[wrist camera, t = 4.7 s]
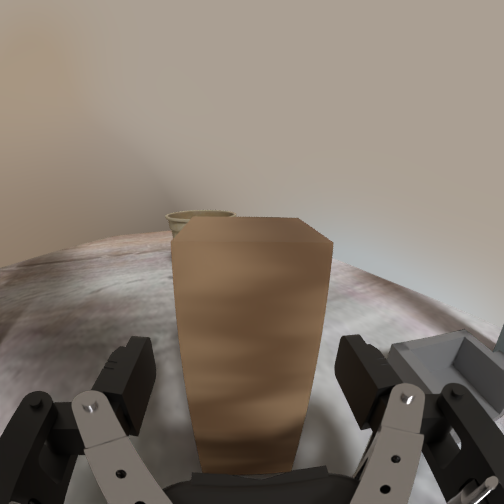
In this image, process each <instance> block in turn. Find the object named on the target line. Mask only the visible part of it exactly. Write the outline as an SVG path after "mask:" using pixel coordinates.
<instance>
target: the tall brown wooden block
mask: <svg viewBox="0 0 504 504" xmlns="http://www.w3.org/2000/svg"><path fill="white" fill-rule="evenodd" d="M332 253H333V242H332V241H330V240H329V239H328V238H326V237H324V236H323V235H322V234H320V233H319V232H318V231H316V230H315V229H313V228H312V227H310V226H309V225H308V224H306V223H304V222H303V221H302V220H300V219H299V218H280V217H192V218H191V219H190V220H189V222H188V223H187V224H186V225H185V226H184V227H183V228H182V229H181V231H180V232H179V233H178V234H177V235H176V236H175V237H174V238H173V240H172V241H171V255H172V271H173V285H174V297H175V308H176V318H177V328H178V336H179V345H180V353H181V360H182V367H183V374H184V381H185V387H186V394H187V399H188V405H189V411H190V416H191V422H192V427H193V432H194V437H195V442H196V446H197V451H198V455H199V460H200V464H201V468H202V473H210V474H228V475H253V474H270V473H282V472H290V471H291V469H292V466H293V462H294V459H295V455H296V452H297V448H298V444H299V440H300V436H301V432H302V428H303V424H304V420H305V416H306V412H307V407H308V403H309V398H310V394H311V389H312V384H313V379H314V374H315V369H316V364H317V359H318V353H319V348H320V342H321V336H322V330H323V323H324V317H325V310H326V303H327V296H328V288H329V280H330V272H331V263H332Z"/></svg>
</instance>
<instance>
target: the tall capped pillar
mask: <svg viewBox="0 0 504 504" xmlns="http://www.w3.org/2000/svg"><path fill="white" fill-rule="evenodd" d="M387 361H388V363H389V364H390V365H391V367H392V368H393V369H394V371H395V372H396V373H397V375H398V376H399V377H400V379H401V380H402V381H403V383H409V384H413V385H415V386H417V387H419V388H420V389H421V390H422V391H423V392H424V394H440V393H441V391H442V389H443V387H444V386H445V385H446V384H449V383H459V384H462V385H464V386H465V387H466V388H467V389H468V390H469V391H470V392H471V393H472V394H473V396H474V397H475V398H476V399H477V401H478V402H479V403H480V404H481V406H482V407H483V408H484V409H485V411H486V412H487V413H488V415H489V416H490V417H491V419H492V420H493V421H496V420H497V419H499V418H500V417H502V416H503V415H504V325H503V328H502V331H501V333H500V336H499V338H498V341H497V343H496V346H495V348H494V350H493V352H492V351H491V350H490V349H489V348H487V347H486V346H485V345H484V344H483V343H481V342H480V341H479V340H478V339H477V338H475V337H474V336H473V335H472V334H470V333H469V332H468V331H467V330H465V329H463V330H459V331H455V332H450V333H446V334H442V335H437V336H432V337H428V338H423V339H417V340H412V341H407V342H401V343H395V344H392V345H391V348H390V352H389V355H388V358H387ZM450 434H451V436H452V437H453V439H454V440H455V442H456V444H457V443H459V442H461V440H460V439H459V437H458V435H457V434H456V432H455V431H454V429H452V430H451V432H450Z"/></svg>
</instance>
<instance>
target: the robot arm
mask: <svg viewBox="0 0 504 504" xmlns="http://www.w3.org/2000/svg"><path fill="white" fill-rule="evenodd" d="M335 376H336V379H337V381H338V383H339V385H340V387H341V389H342V391H343V393H344V395H345V398H346V400H347V402H348V404H349V406H350V408H351V410H352V412H353V414H354V417H355V419H356V421H357V423H358V425H359V427H360V430H364V429H368V428H371V429H372V431H373V432H372V434H371V436H370V438H369V441H368V443H367V446H366V448H365V451H364V453H363V455H362V458H361V460H360V462H359V464H358V467H357V469H356V471H355V473H354V474H353V476H352V477H349V476H345V475H340V474H332V473H328V471H327V468H326V466H320V467H314V468H307V469H300V470H293V471H290V472H287V473H284V474H281V475H277V476H274V477H271V478H267V479H263V480H257V479H250V478H244V477H239V476H233V475H228V474H210V473H192V479H191V481H184V482H180V483H176V484H173V485H171V486H168V487H166V488H164V489H161V487H160V486H159V485H158V483H157V482H156V480H155V479H154V478H153V476H152V475H151V473H150V472H149V470H148V469H147V467H146V466H145V464H144V463H143V461H142V459H141V458H140V456H139V455H138V453H137V451H136V450H135V448H134V446H133V445H132V443H131V441H130V439H129V438H128V436H129V435H133V436H138V435H139V432H140V428H141V425H142V422H143V418H144V415H145V411H146V408H147V405H148V402H149V398H150V395H151V392H152V389H153V386H154V382H155V379H156V365H155V360H154V355H153V349H152V344H151V340H150V338H149V337H138V336H132V337H131V338H130V340H129V342H128V343H127V345H126V347H121V346H120V347H119V348H118V349H116V350H115V351H114V352H112V354H111V355H110V357H109V359H108V362H106V364H105V366H104V369H102V371H101V373H100V375H99V376H98V378H97V380H96V382H95V384H94V385H93V387H92V389H91V390H90V391H84V392H82V393H80V394H78V395H77V396H76V397H75V398H74V399H73V401H72V402H53V400H52V398H51V396H50V395H49V394H48V393H46V392H43V391H35V392H32V393H29V394H28V395H26V396H25V397H24V398H23V400H22V401H21V403H20V405H19V406H18V408H17V410H16V411H15V413H14V415H13V416H12V418H11V420H10V421H9V423H8V425H7V426H6V428H5V430H4V432H3V434H2V435H1V437H0V504H64V500H65V496H66V493H67V489H68V486H69V482H70V479H71V476H72V473H73V469H74V466H75V463H76V460H77V457H78V455H86V458H87V460H88V462H89V465H90V467H91V469H92V472H93V474H94V476H95V478H96V480H97V483H98V485H99V487H100V489H101V491H102V493H103V495H104V497H105V499H106V500H107V502H108V504H407V503H408V500H409V497H410V493H411V490H412V487H413V483H414V480H415V476H416V472H417V468H418V464H419V459H420V455H421V451H422V453H423V455H424V457H425V459H426V461H427V463H428V465H429V467H430V469H431V471H432V473H433V475H434V477H435V479H436V481H437V483H438V485H439V487H440V489H441V492H442V494H443V496H444V498H445V500H446V503H447V504H504V435H503V433H502V432H501V430H500V429H499V428H498V426H497V425H496V424H495V422H494V421H493V420H492V419H491V417H490V416H489V415H488V413H487V412H486V411H485V409H484V408H483V407H482V406H481V404H480V403H479V402H478V401H477V399H476V398H475V397H474V396H473V394H472V393H471V392H470V391H469V390H468V389H467V388H466V387H465V386H464V385H462V384H459V383H449V384H446V385H445V386H444V387H443V389H442V391H441V393H440V394H424V392H423V391H422V390H421V389H420V388H419V387H417V386H415V385H413V384H409V383H403V381H402V380H401V379H400V377H399V376H398V375H397V373H396V372H395V371H394V369H393V368H392V367H391V365H390V364H389V363H388V361H387V360H386V359H384V356H383V355H382V353H381V352H380V351H379V350H378V349H377V348H375V347H374V346H372V345H371V344H366V343H365V341H364V340H363V339H362V337H361V336H360V335H359V334H357V335H347V336H342V337H341V339H340V343H339V348H338V352H337V357H336V361H335ZM452 429H454V431H455V432H456V434H457V435H458V437H459V439H460V440H461V450H460V449H459V447H458V445H457V444H456V442H455V440H454V439H453V437H452V436H451V434H450V432H451V430H452Z"/></svg>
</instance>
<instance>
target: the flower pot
mask: <svg viewBox="0 0 504 504" xmlns="http://www.w3.org/2000/svg"><path fill="white" fill-rule="evenodd" d="M192 217H236V213H233V212H229V211H221V210H193V211H181V212H174V213H170V214H167V215H166V217H165V218H166V219H167V220H168V221H169V227H170V229H171V230H172V235H173V238H174V237H175V236H176V235H177V234H178V233H179V232H180V231H181V229H182V228H183V227H184V226H185V225H186V224H187V223H188V222H189V220H190V219H191V218H192Z"/></svg>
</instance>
